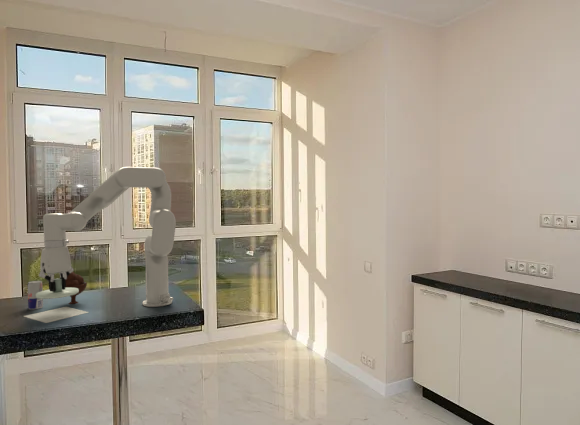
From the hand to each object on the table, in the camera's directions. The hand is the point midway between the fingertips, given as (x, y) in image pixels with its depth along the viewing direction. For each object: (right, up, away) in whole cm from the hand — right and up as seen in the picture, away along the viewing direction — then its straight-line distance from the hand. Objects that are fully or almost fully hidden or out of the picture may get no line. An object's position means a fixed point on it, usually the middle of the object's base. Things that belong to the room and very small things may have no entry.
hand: (57, 289), depth 167 cm
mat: (0, -11, 0) cm, 11 cm away
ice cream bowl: (-3, -10, +18) cm, 21 cm away
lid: (0, -2, 0) cm, 2 cm away
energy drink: (-15, -11, +10) cm, 21 cm away
